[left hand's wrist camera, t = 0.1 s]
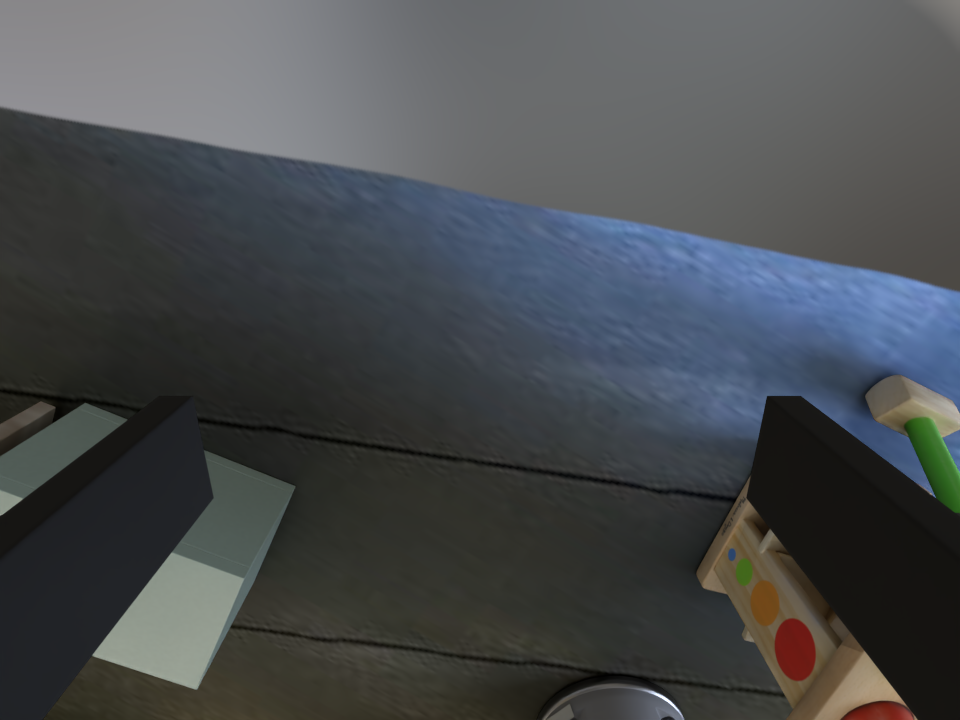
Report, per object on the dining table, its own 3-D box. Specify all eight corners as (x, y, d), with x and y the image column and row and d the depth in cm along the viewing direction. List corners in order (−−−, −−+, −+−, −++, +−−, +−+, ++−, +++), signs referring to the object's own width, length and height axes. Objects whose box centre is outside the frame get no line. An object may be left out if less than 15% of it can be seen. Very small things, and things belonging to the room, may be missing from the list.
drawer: (-55, 474, 44) (-176, 546, 36) (-38, 369, 41) (-166, 423, 33) (209, 569, 48) (153, 655, 40) (244, 480, 44) (191, 553, 36)
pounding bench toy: (819, 346, 41) (1051, 478, 25) (981, 396, 43) (1304, 552, 26) (692, 576, 49) (802, 795, 32) (833, 611, 50) (1007, 838, 34)
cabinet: (57, 510, 47) (-59, 607, 37) (85, 402, 43) (-35, 477, 33) (254, 581, 50) (196, 690, 39) (296, 486, 46) (244, 578, 36)
